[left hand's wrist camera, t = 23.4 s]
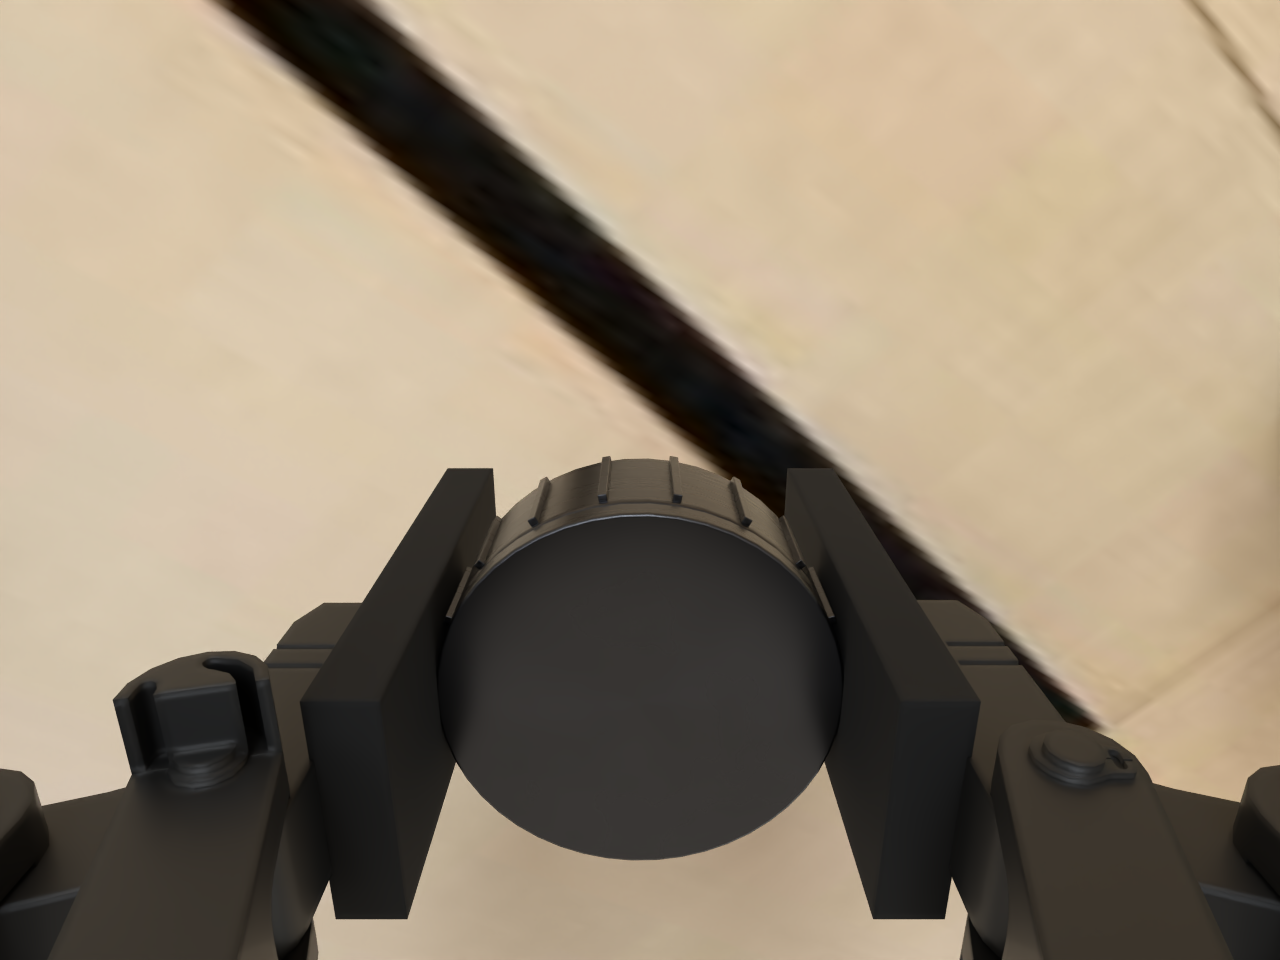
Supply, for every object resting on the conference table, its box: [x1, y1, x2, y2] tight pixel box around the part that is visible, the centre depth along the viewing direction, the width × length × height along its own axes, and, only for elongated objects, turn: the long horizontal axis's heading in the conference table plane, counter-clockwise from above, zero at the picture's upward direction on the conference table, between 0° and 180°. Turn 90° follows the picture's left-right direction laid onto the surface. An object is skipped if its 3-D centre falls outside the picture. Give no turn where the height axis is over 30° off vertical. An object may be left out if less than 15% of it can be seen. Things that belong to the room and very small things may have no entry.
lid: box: [436, 456, 844, 860], centre depth 11 cm, size 5×5×2 cm
